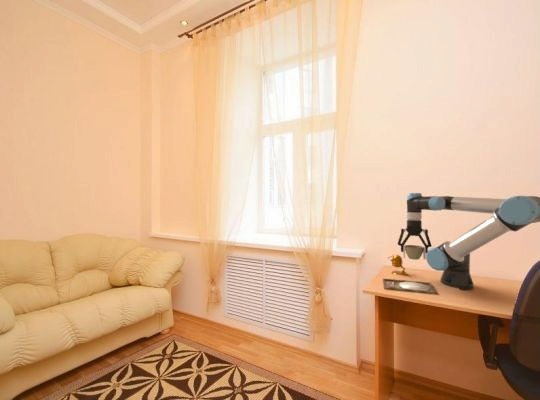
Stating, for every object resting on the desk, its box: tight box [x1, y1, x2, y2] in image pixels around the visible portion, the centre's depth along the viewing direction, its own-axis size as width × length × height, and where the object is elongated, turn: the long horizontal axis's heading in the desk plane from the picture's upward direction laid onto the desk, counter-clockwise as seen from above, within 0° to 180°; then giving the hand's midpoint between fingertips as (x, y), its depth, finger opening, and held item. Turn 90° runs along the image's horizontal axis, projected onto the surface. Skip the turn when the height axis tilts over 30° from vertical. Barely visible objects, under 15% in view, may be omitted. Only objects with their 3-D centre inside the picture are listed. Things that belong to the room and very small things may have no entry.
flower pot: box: [404, 244, 425, 261], centre depth 160 cm, size 10×10×7 cm
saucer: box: [399, 282, 429, 291], centre depth 147 cm, size 14×14×1 cm
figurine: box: [387, 254, 408, 276], centre depth 175 cm, size 9×11×12 cm
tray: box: [382, 278, 438, 295], centre depth 148 cm, size 24×16×2 cm, turn 71°
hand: (414, 258), depth 160 cm, fingers closed on flower pot, 10 cm apart
